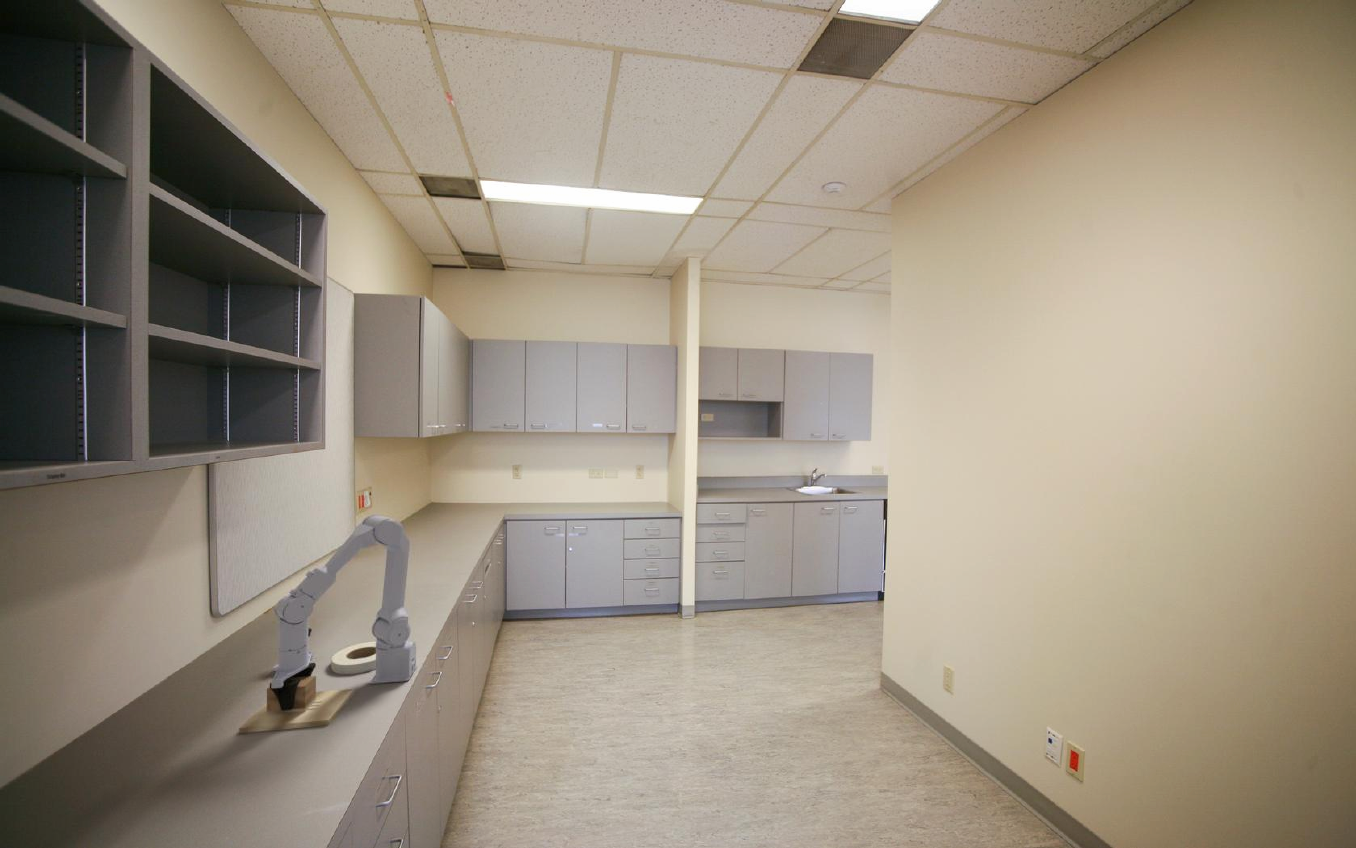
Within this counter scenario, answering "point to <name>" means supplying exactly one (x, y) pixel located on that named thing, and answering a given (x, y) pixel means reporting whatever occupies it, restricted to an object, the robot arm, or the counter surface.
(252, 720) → the board
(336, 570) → the robot arm
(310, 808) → the counter surface
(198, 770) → the counter surface
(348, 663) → the roll of tape
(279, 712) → the block
